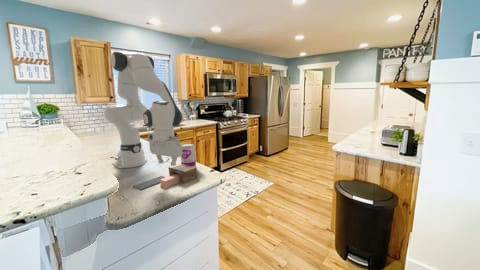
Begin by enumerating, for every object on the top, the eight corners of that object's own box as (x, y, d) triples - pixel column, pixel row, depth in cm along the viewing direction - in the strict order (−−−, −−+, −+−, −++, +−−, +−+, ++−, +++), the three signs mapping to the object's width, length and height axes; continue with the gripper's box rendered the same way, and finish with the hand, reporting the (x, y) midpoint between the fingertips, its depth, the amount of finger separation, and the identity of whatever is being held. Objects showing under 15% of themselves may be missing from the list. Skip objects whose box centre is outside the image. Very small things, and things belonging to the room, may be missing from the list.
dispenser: (169, 179, 112) (168, 167, 111) (183, 174, 119) (182, 162, 118) (183, 183, 105) (182, 170, 104) (197, 177, 113) (196, 165, 112)
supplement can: (192, 172, 122) (191, 146, 119) (179, 171, 123) (177, 146, 121) (198, 167, 129) (196, 143, 127) (185, 167, 131) (183, 143, 129)
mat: (132, 187, 103) (132, 185, 103) (161, 176, 116) (161, 175, 116) (140, 190, 99) (140, 189, 99) (169, 179, 112) (169, 178, 112)
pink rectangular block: (160, 186, 103) (159, 179, 103) (183, 177, 115) (182, 171, 114) (165, 188, 101) (165, 181, 101) (188, 178, 112) (188, 172, 112)
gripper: (184, 135, 97) (187, 165, 99) (157, 133, 109) (160, 160, 111) (173, 138, 92) (176, 169, 94) (145, 135, 104) (148, 163, 106)
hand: (167, 164), depth 103 cm, fingers open, 8 cm apart
